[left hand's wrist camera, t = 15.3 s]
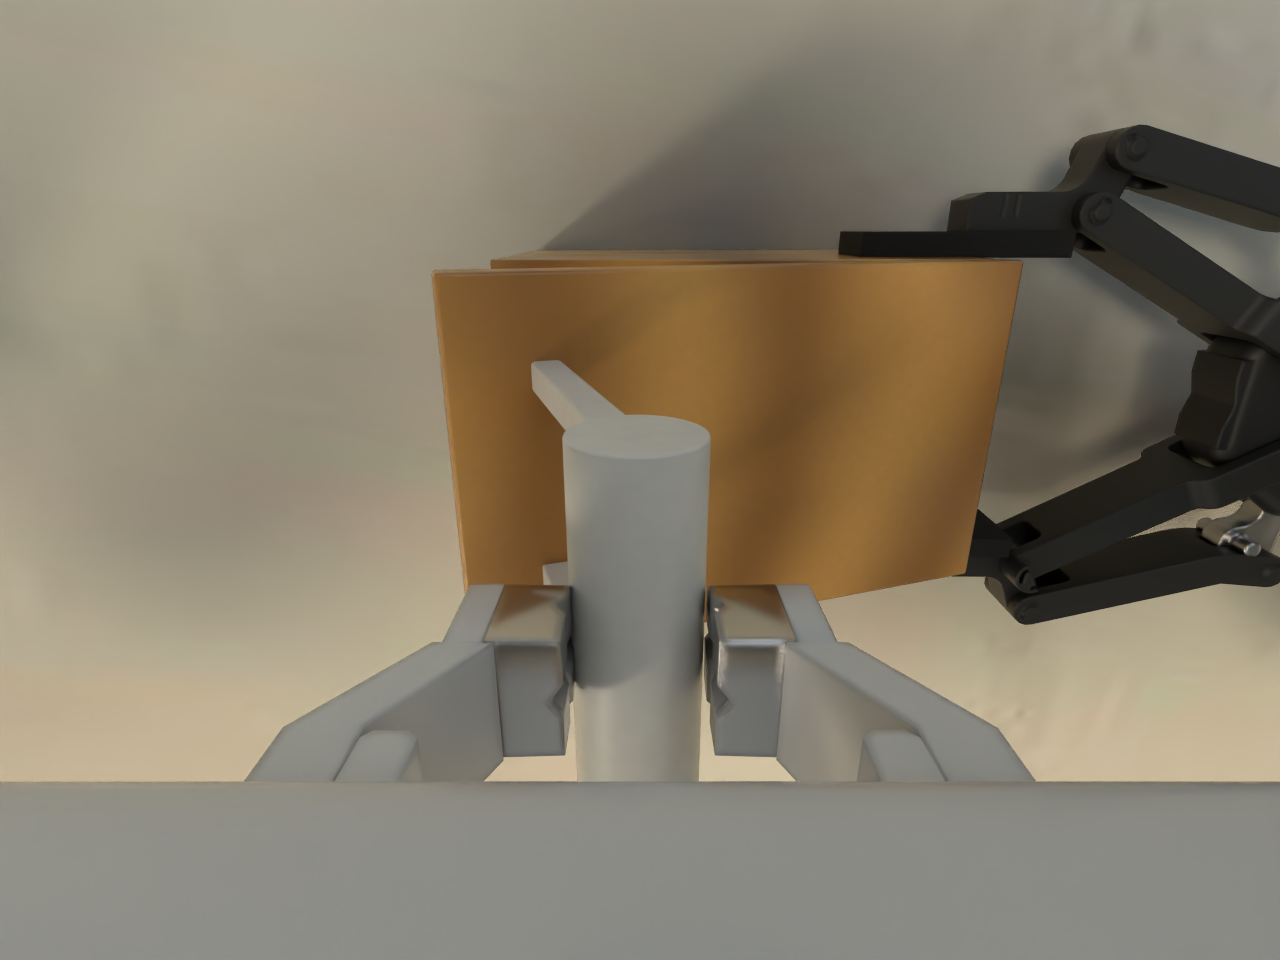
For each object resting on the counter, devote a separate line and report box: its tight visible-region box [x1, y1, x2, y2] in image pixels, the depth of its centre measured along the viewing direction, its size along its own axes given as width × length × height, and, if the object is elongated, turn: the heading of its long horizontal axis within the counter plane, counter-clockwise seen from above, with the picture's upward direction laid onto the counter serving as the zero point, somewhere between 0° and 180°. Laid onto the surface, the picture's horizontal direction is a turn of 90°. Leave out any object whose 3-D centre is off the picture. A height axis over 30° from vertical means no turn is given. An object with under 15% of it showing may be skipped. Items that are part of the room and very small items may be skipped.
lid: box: [431, 259, 1023, 782], centre depth 15 cm, size 16×10×9 cm, turn 90°
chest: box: [490, 250, 991, 269], centre depth 26 cm, size 15×10×9 cm, turn 90°
